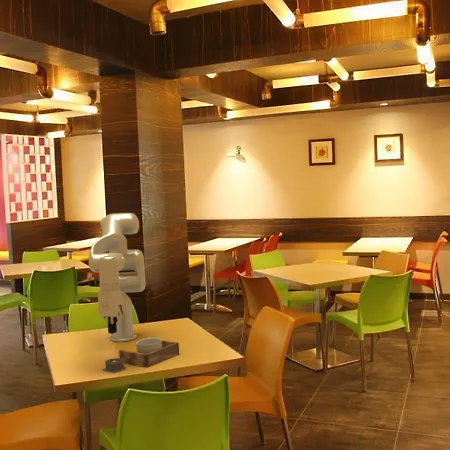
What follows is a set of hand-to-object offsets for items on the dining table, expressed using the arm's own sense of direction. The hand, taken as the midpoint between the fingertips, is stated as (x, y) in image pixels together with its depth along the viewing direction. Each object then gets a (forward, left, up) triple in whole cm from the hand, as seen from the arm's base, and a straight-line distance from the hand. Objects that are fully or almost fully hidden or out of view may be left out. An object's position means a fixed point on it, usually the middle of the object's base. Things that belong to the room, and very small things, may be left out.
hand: (112, 332), depth 233 cm
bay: (+2, +18, -15) cm, 23 cm away
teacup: (+3, +18, -15) cm, 24 cm away
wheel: (0, 0, -14) cm, 14 cm away
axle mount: (0, 0, -15) cm, 15 cm away
